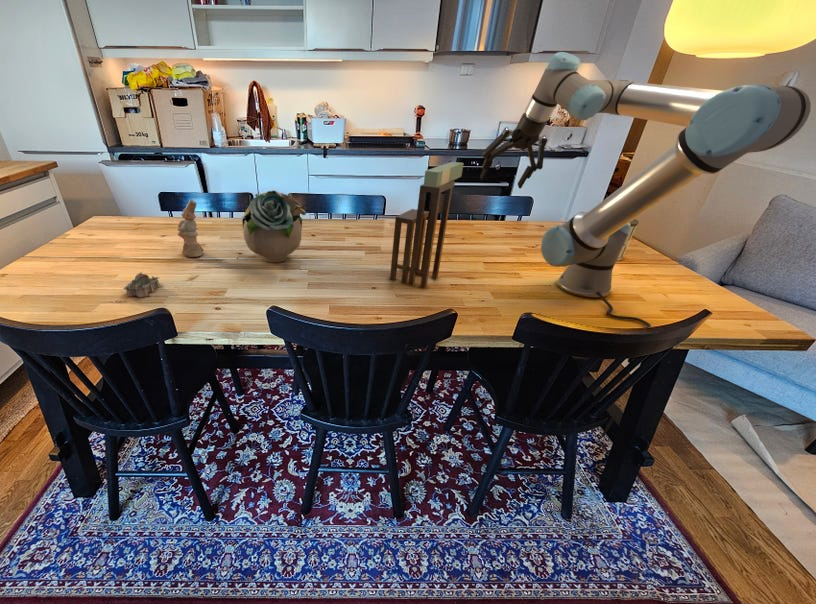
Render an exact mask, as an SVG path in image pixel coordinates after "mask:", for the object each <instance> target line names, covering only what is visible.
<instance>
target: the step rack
mask: <svg viewBox="0 0 816 604" xmlns="http://www.w3.org/2000/svg"><path fill="white" fill-rule="evenodd" d="M455 183H456V181H455V180H452V181H450V182H448V183H446V184H443V185H441V186H439V187H429V186H424V183H423V184H421V185H419V193H418V201H417V209H416V208H411V209H409V210H406V211H404V212H403V213H400V214H399V215H397V216H395V220H394V231H393V240H392V252H391V263H390V275H389V280H390V281H395V280H396V279H397V274H398V273H397V271H398V269H399V270H401V271H402V273H401V284H405V285H406V284H407V283H408V285H409V286H414V285H415V284H416V276H417V275H419V276H421V281H420V287H419V288H421V289H426V288H427V287H428V281H429V273H430V269H431V268H430V267H431V261H432V254H433V248H434V241H435V235H436V227H437V221H438V215H439V207H440V201H441V195H442V193H444V196H443V203H442V210H441V217H440V223H439V230H438V234H437V243H436V248H435V255H434V262H433V268H432V272H431V273H432V274H431V279H432V280H437V279H438V277H439V271H440V267H441V260H442V254H443V248H444V242H445V235H446V230H447V224H448V218H449V212H450V205H451V199H452V194H453V188H454V187H455ZM427 193H430V200H429V206H428V211H427V210H425V209H426V208H425V207H426V198H427ZM402 224H406V231H405V232H406V233H405V242H404V251H403V259H402V264H399V263H398V262H399V253H400V245H401V233H402Z"/></svg>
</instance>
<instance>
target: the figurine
mask: <svg viewBox="0 0 816 604" xmlns="http://www.w3.org/2000/svg"><path fill="white" fill-rule="evenodd" d="M196 208H197V202H196V201H195V200H193V199H189V201H188V202H187V204H186V207H185V208H183V210H182V213H181V217H182V219H183V220H181V221H179V223H178V225H177V232H178V233H177V236H178V237H180V238H181V239H182V240H183V245H182V250H181V254H182V255H184V256H185V257H189V258H194V257H201V256H202V255H203V254H204V253H203V252H204V249H203V247H202V245H201V244H200V242H198V239H197V237H198V235H199V233H198V231H197V221H196V220H195V219H196V218H197V215H196V214H195V211H196Z"/></svg>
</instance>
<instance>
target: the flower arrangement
mask: <svg viewBox="0 0 816 604" xmlns="http://www.w3.org/2000/svg"><path fill="white" fill-rule="evenodd" d="M254 196H255V197H252V198H251V201H250V202H249V205H248V207H247V208H246V209H245V210H244V211H245V213H244V214H243V215H242V216H241V218H242V219H241V221H242V229H243V230H242V233H243V239H244V240H243V241H244V242H245V244H246V246H247V248H248V249H249V250H250V251H251V252H253V253H254V254H256V255H257V256H260V257H262V258H263V259H264V261H265V262H268V263H281V262H284V261H285V260H286V259H287V257H288V255H291V254H292V253H294V252H295V251H296V250H297V249H298V248H299V247H300V244H301V241H302V229H303V228H302V227H303V218H302V217H301V216H306V215H307V213H306V211H305V209H304V208H305V207H304V205H302V204H300V202H298V200H297V199H295V198H294V196H293V194H292V193H291V192H289V193H287V194H286V193H283V192H280V191H277V190H274V189H272V190H268V191H266V192H262V193H260V194H259V193H258V192H256V194H254ZM300 215H301V216H300Z"/></svg>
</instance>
